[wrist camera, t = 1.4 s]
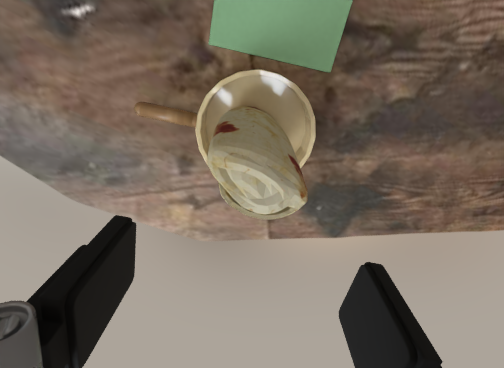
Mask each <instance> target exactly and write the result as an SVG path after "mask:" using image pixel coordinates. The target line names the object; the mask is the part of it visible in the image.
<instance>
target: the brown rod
mask: <svg viewBox="0 0 504 368" xmlns="http://www.w3.org/2000/svg"><path fill="white" fill-rule="evenodd" d="M134 110H135V112H136V114H138V115H139V116H142V117H147V118H152V119H157V120H161V121H166V122H171V123H176V124H180V125H185V126H190V127H196V123H197V115H198V114H197V113H193V112H188V111H183V110H179V109H174V108H169V107H165V106H160V105H155V104H151V103H146V102H138V103H136V105H135V107H134Z"/></svg>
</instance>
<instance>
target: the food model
mask: <svg viewBox="0 0 504 368" xmlns="http://www.w3.org/2000/svg"><path fill="white" fill-rule="evenodd" d="M207 159H208V166H209V168H210V170H211V172H212V174H213V176H214V177H215V178H216V179H217V181H218V182H219V188H220V193H221V195H222V197H223V198H224V200H225V201H226V202H227V203H228V204H229V205H230V206H231V207H233V208H235V209H236V210H238V211H239V212H241V213H243V214H244V215H246V216H249V217H253V218H258V219H278V218H282V217H285V216H288V215H290V214H292V213H294V212H296V211H297V210H298V209H300V208H301V207H302V206H303V205H304V204H305V203H306V202H307V188H306V185H305V182H304V179H303V176H302V172H301V168H300V165H299V162H298V160H297V157H296V154H295V152H294V150H293V147H292V145H291V142H290V140H289V138H288V136H287V135H286V133H285V132H284V130H283V129H282V128H281V126H280V125H279V124H278V123H277V121H276V120H275V119H274V118H272V117H271V116H270V115H268V114H267V113H266V112H264V111H261V110H259V109H258V108H255V107H249V106H240V107H236V108H233V109H230V110H229V111H227V112H226V113H225V114H223V115H222V117H221V118H220V119H219V122H218V123H217V126H216V128H215V130H214V132H213V135H212V138H211V141H210V146H209V151H208V157H207Z"/></svg>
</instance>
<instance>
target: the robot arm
mask: <svg viewBox="0 0 504 368" xmlns="http://www.w3.org/2000/svg"><path fill="white" fill-rule="evenodd" d="M135 243H136V223H134V222H132V219H131V218H129V217H123V216H118V215H116V216H114V217H113V218H112V219H111V220H110V222H108V223H107V225H106V226H105V227H104V228H103V229H102V230H101V231H100V232H99V233H98V234H97V235H96V236H95V238H93V239H92V241H91V242H90V243H89V244H88V245H82V246H81V247H79V248H78V249H77V250H76V251H75V252H74V253H73V254H72V255H71V256H70V257H69V258H68V259H67V260H66V262H65V263H64V264H63V265H62V266H61V267H60V268H59V269H58V270H57V271H56V272H55V273H54V274H53V275H52V276H51V277H50V278H49V279H48V280H47V281H46V282H45V283H44V284H43V285H42V286H41V287H40V288H39V289H38V290H37V291H36V293H34V294H33V295H32V296H31V298H29V299H28V301H27V302H24V301H9V302H4V303H0V368H82V367H83V366H84V364H85V363H86V361H87V359H88V357H89V356H90V354H91V352H92V351H93V349H94V347H95V345H96V344H97V342H98V340H99V338H100V337H101V335H102V333H103V332H104V330H105V328H106V326H107V324H108V323H109V321H110V320H111V318H112V316H113V314H114V313H115V311H116V309H117V307H118V306H119V304H120V302H121V300H122V298H123V297H124V295H125V293H126V291H127V290H128V288H129V287H130V285H131V283H132V281H133V278H134V269H135ZM339 319H340V322H341V325H342V328H343V331H344V334H345V338H346V341H347V344H348V347H349V350H350V353H351V357H352V359H353V363H354V366H355V368H442V367H441V363H442V360H441V359H440V357H439V355H438V354H437V352H436V351H435V349H434V347H433V346H432V344H431V342H430V341H429V339H428V338H427V336H426V334H425V333H424V331H423V330H422V328H421V326H420V325H419V323H418V322H417V320H416V319H415V317H414V315H413V313H412V312H411V310H410V309H409V307H408V305H407V304H406V302H405V301H404V299H403V297H402V296H401V294H400V292H399V291H398V289H397V288H396V286H395V284H394V283H393V282H392V280H391V278H390V276H389V275H388V273H387V271H386V270H385V268H384V267H383V266H382V265H381V264H376V263H371V262H366V263H365V264H364V265H361V267H360V268H359V270H358V273H357V274H356V276H355V278H354V280H353V283H352V285H351V287H350V289H349V291H348V293H347V295H346V297H345V299H344V301H343V303H342V305H341V307H340V310H339Z"/></svg>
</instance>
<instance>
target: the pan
mask: <svg viewBox="0 0 504 368" xmlns="http://www.w3.org/2000/svg"><path fill="white" fill-rule="evenodd" d="M240 106H249V107H255V108H258V109H259V110H261V111H264V112H266V113H267V114H268V115H270V116H271V117H272V118H274V119H275V120H276V121H277V123H278V124H279V125H280V126H281V128H282V129H283V130H284V132H285V133H286V135H287V136H288V138H289V140H290V142H291V145H292V147H293V150H294V152H295V154H296V157H297V160H298V162H299V165H300V168H301V167H302V166H303V165H304V163H305V162H306V160H307V159H308V157H309V156H310V154H311V150H312V147H313V144H314V141H315V117H314V114H313V111H312V108H311V105H310V102H309V100H308V99H307V97H306V96H305V95H304V94H303V92H302V91H301V90H300V89H299V87H298V86H297V85H296V84H294V83H293V82H291V81H290V80H288V79H287V78H285V77H283V76H282V75H280V74H278V73H276V72H272V71H268V70H263V69H250V70H241V71H239V72H237V73H235V74H233V75H230V76H228V77H226V78H224V79H223V80H221V81H220V82H219V83H218V84H217V85H216V86H215V87H214V88H213V89H212V90H211V91H210V92H209V93H208V94H207V95H206V97H205V99H204V101H203V103H202V105H201V107H200V109H199V111H198V115H197V123H196V137H197V142H198V147H199V151H200V152H201V154H202V156H203V158H204V160H205V161H206V163H207V165H208V159H207V157H208V151H209V146H210V141H211V138H212V135H213V132H214V130H215V128H216V126H217V123H218V122H219V119H220V118H221V117H222V115H223V114H225V113H226V112H227V111H229V110H230V109H233V108H236V107H240Z"/></svg>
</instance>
